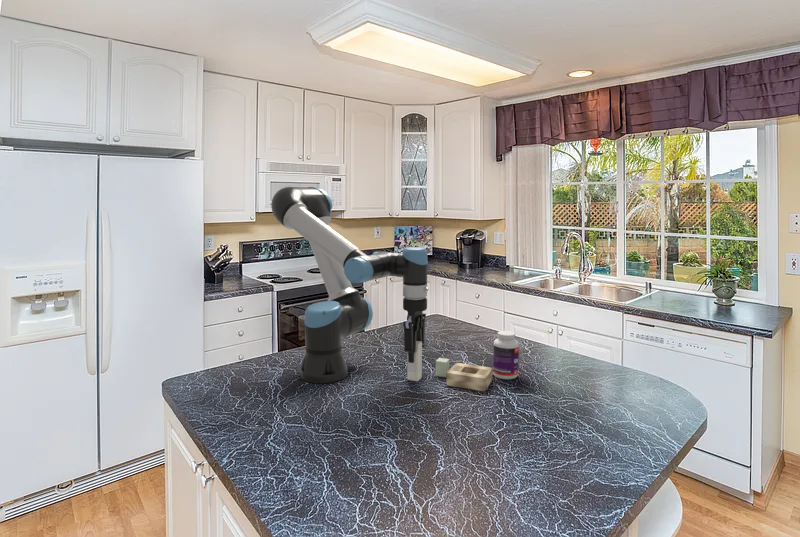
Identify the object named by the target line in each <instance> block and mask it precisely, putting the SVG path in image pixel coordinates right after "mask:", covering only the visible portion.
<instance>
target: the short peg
mask: <svg viewBox="0 0 800 537" xmlns="http://www.w3.org/2000/svg"><path fill="white" fill-rule="evenodd" d="M449 370H450V358H443V357H438V358H437V359H436V360H435V376H436V377H442V378H447V372H448V371H449Z"/></svg>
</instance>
